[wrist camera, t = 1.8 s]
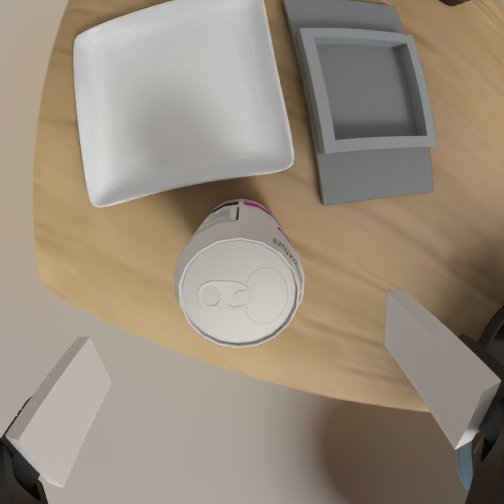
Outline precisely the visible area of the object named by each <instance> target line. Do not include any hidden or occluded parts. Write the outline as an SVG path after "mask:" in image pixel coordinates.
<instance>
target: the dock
mask: <svg viewBox="0 0 504 504" xmlns="http://www.w3.org/2000/svg"><path fill="white" fill-rule="evenodd" d="M283 7H284V11H285V14H286V18H287V22H288V26H289V30H290V34H291V38H292V42H293V46H294V50H295V54H296V59H297V63H298V68H299V72H300V77H301V82H302V86H303V91H304V96H305V101H306V107H307V112H308V117H309V123H310V129H311V134H312V140H313V146H314V153H315V159H316V166H317V173H318V180H319V187H320V195H321V202H322V205H323V206H327V205H334V204H341V203H348V202H355V201H363V200H370V199H378V198H386V197H393V196H402V195H410V194H418V193H427V192H433V179H432V167H431V158H430V149H429V147H437V143H436V135H435V129H434V122H433V117H432V111H431V106H430V101H429V96H428V91H427V87H426V82H425V78H424V74H423V70H422V66H421V63H420V59H419V55H418V52H417V49H416V45H415V42H414V39H413V36H412V35H406V34H404V32H403V29H402V26H401V23H400V20H399V17H398V15H397V12H396V9H395V7H394V6H389V5H383V4H376V3H368V2H359V1H348V0H283Z"/></svg>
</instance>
